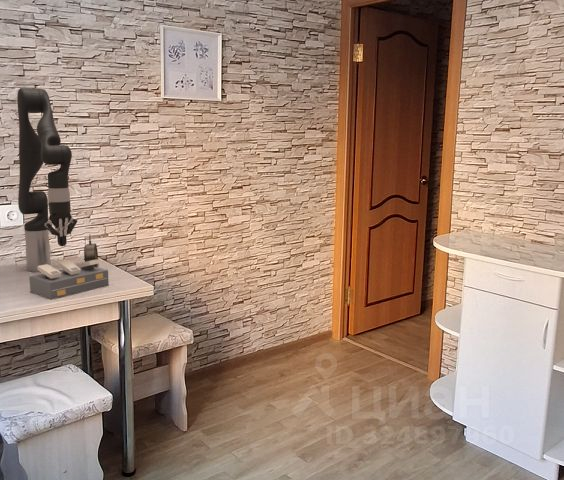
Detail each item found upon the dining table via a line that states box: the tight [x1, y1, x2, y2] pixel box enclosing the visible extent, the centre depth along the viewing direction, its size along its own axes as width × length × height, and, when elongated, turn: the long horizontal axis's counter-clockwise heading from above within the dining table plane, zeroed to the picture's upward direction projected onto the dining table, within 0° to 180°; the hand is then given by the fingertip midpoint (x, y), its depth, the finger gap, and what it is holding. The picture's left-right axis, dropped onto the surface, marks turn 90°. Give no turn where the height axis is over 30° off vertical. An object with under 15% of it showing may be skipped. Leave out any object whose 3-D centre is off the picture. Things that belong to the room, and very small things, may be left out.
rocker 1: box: [37, 264, 61, 279], centre depth 212 cm, size 9×4×2 cm, turn 52°
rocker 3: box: [76, 258, 100, 267], centre depth 224 cm, size 9×4×2 cm, turn 52°
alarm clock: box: [83, 233, 100, 268], centre depth 243 cm, size 11×5×16 cm, turn 13°
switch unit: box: [28, 265, 110, 300], centre depth 219 cm, size 14×24×7 cm, turn 142°
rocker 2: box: [57, 259, 81, 275], centre depth 218 cm, size 9×4×2 cm, turn 52°
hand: (62, 245), depth 219 cm, fingers closed
